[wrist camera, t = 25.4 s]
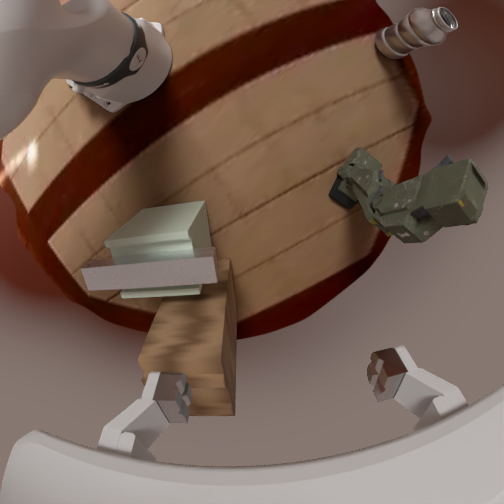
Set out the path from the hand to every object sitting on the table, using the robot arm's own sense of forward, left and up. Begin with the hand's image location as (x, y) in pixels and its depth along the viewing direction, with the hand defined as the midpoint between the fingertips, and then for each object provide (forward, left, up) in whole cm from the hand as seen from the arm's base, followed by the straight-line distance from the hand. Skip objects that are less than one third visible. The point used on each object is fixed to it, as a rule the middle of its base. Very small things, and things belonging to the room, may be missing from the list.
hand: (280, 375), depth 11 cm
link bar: (-10, -13, -24) cm, 29 cm away
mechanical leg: (+15, +12, -39) cm, 44 cm away
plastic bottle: (+8, +39, -39) cm, 56 cm away
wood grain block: (+1, -21, -39) cm, 44 cm away
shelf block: (-9, -12, -39) cm, 42 cm away
